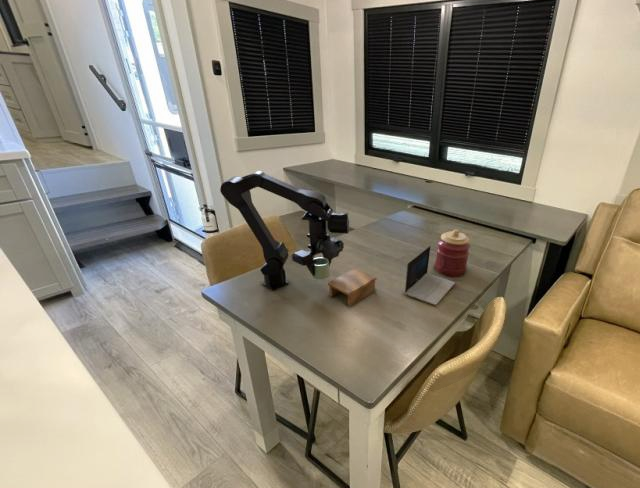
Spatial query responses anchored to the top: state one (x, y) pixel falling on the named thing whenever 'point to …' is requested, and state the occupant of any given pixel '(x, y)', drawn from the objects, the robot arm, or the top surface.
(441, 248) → the kitchen canister
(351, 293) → the shelf
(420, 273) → the laptop
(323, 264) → the ramekin
